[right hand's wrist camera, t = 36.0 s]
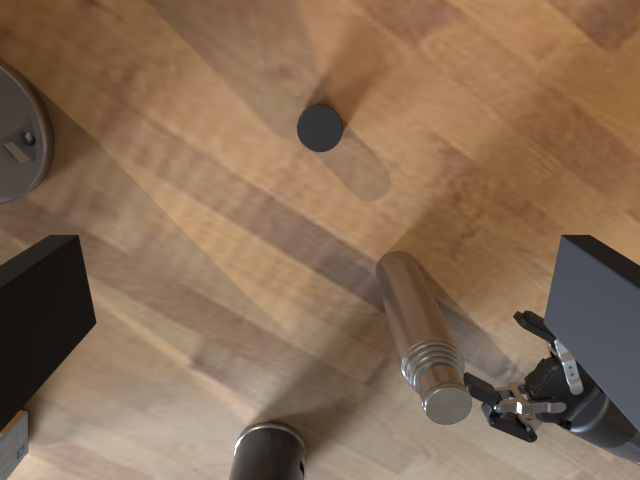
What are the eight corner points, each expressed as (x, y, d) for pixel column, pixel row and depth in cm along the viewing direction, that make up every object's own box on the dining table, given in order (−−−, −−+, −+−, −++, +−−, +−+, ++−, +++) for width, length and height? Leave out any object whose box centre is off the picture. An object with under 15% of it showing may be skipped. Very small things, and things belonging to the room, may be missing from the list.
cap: (299, 101, 44) (298, 103, 43) (344, 106, 45) (345, 108, 43) (295, 147, 46) (294, 150, 44) (339, 151, 46) (340, 154, 44)
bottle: (426, 266, 51) (499, 401, 30) (399, 297, 52) (450, 445, 32) (394, 243, 50) (446, 365, 29) (366, 274, 51) (398, 412, 31)
